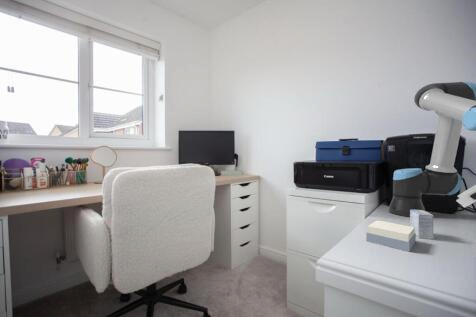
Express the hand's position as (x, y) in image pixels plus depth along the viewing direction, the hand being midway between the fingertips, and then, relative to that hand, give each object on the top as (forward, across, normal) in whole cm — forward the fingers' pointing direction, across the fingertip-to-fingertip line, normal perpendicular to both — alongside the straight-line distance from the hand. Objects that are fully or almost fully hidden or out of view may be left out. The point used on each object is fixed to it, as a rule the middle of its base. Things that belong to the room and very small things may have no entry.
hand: (460, 201), depth 74 cm
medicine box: (+17, 0, -3) cm, 17 cm away
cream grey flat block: (+21, -16, +2) cm, 27 cm away
